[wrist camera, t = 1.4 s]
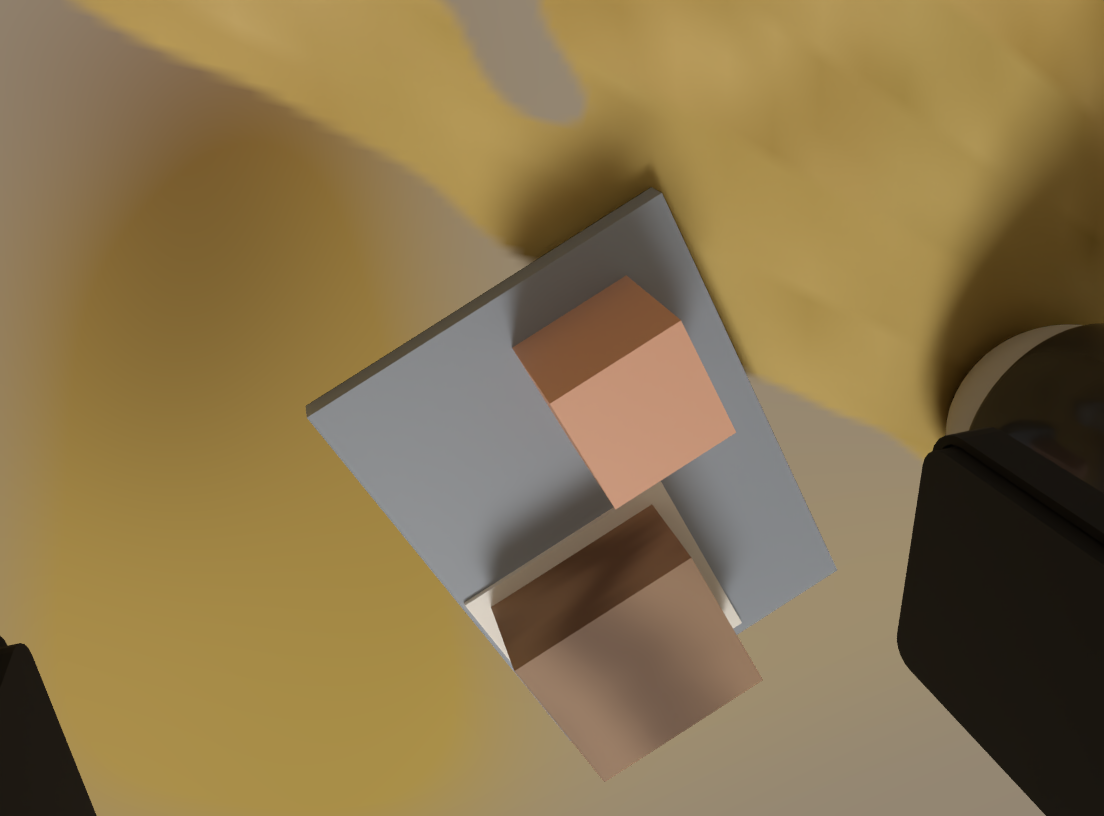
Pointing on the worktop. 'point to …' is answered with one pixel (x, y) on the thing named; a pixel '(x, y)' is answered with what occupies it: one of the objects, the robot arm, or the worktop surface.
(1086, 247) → the worktop surface
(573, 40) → the worktop surface
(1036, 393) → the black penguin toy
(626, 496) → the top cube
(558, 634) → the base block
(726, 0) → the worktop surface
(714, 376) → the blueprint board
